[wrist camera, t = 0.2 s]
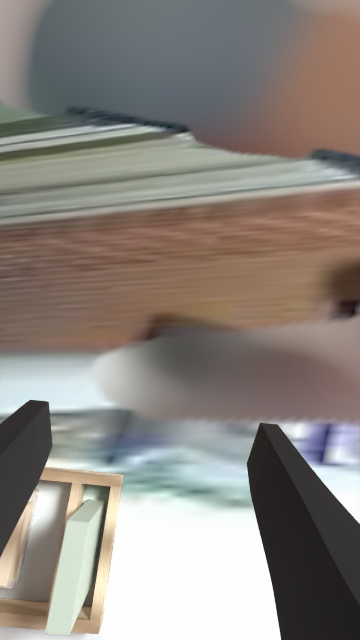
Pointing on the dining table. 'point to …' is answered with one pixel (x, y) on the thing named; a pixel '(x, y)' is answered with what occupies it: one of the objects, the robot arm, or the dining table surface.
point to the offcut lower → (16, 580)
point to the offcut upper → (14, 548)
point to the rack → (38, 612)
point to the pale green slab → (75, 566)
